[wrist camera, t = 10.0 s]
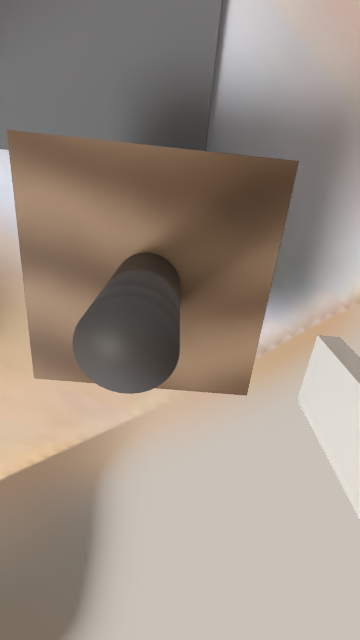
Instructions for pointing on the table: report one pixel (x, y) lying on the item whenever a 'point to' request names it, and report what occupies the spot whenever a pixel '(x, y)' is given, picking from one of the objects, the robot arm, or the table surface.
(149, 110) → the mat
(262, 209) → the lid
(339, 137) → the table surface
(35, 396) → the table surface
